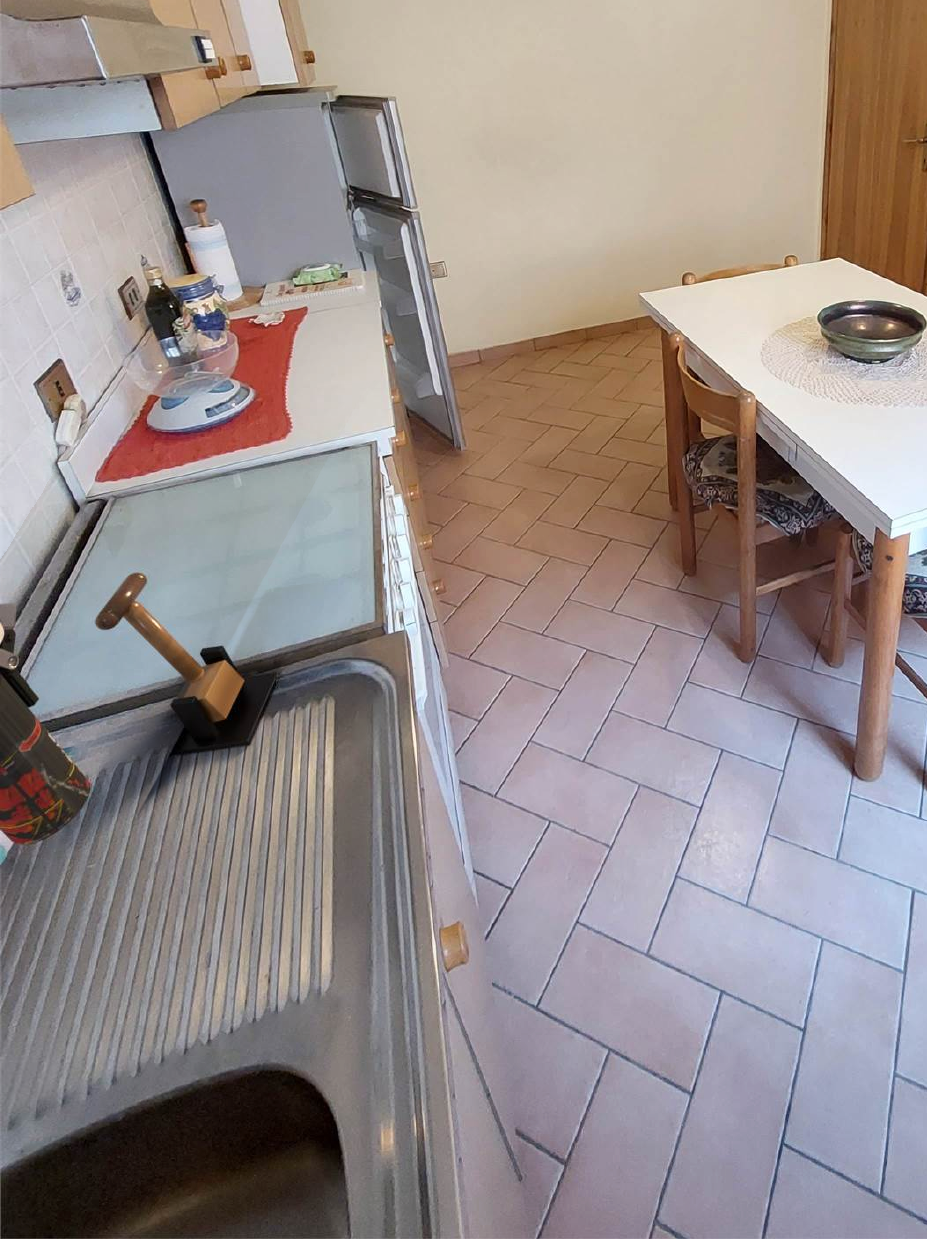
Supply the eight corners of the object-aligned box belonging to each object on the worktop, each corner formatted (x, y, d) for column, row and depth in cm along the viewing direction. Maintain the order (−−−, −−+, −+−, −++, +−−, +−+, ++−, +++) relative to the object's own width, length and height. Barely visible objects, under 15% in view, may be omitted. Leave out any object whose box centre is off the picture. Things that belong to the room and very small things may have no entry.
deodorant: (-9, 837, 61) (-115, 731, 54) (57, 770, 66) (-33, 665, 59) (43, 851, 59) (-59, 744, 52) (106, 782, 64) (20, 675, 57)
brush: (69, 628, 70) (109, 616, 69) (111, 576, 76) (148, 564, 75) (186, 737, 79) (222, 727, 78) (214, 682, 85) (248, 673, 85)
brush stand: (159, 758, 78) (129, 717, 75) (198, 687, 86) (172, 646, 83) (250, 745, 79) (224, 703, 75) (280, 675, 87) (258, 635, 83)
